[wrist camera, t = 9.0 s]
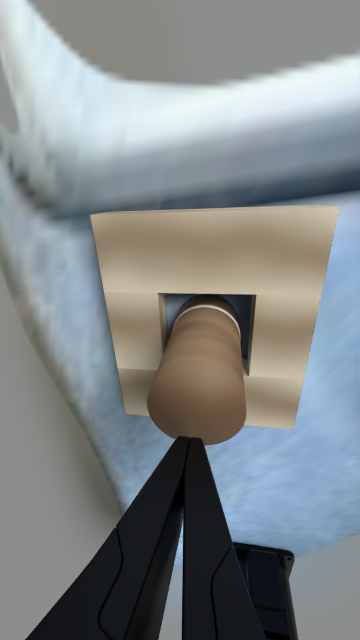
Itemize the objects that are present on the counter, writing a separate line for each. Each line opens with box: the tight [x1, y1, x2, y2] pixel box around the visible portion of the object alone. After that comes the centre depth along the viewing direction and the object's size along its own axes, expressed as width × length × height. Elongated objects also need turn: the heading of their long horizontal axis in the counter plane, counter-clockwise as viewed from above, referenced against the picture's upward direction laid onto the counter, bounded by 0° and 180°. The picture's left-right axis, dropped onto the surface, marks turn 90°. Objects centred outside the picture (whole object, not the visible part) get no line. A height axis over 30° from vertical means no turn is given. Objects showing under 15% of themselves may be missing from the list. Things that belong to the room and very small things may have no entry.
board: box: [90, 205, 339, 429], centre depth 17 cm, size 14×12×2 cm
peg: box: [147, 294, 246, 445], centre depth 14 cm, size 4×4×8 cm
